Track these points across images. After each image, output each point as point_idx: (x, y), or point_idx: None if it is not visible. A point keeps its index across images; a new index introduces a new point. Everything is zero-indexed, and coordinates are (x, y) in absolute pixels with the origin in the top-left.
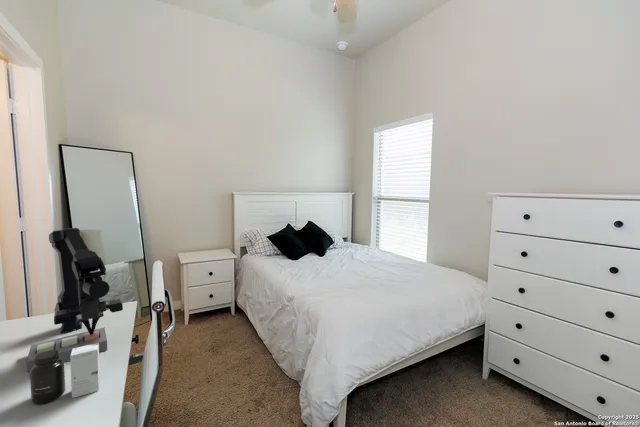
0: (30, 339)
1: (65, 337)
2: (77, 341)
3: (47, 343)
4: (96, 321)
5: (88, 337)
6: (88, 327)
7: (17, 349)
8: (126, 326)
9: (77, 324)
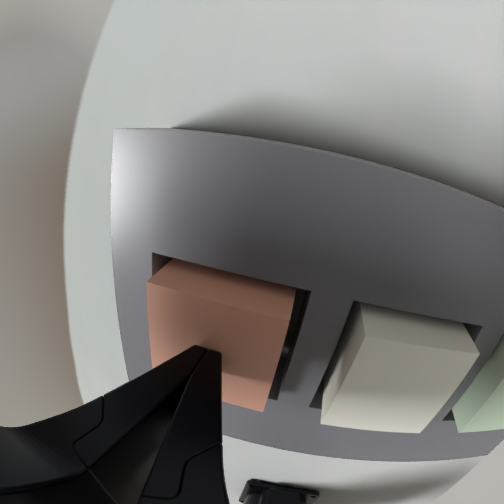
0: (396, 496)
1: (366, 453)
2: (325, 378)
3: (493, 421)
4: (52, 430)
5: (248, 310)
6: (194, 429)
7: (456, 466)
8: (83, 363)
9: (256, 500)
